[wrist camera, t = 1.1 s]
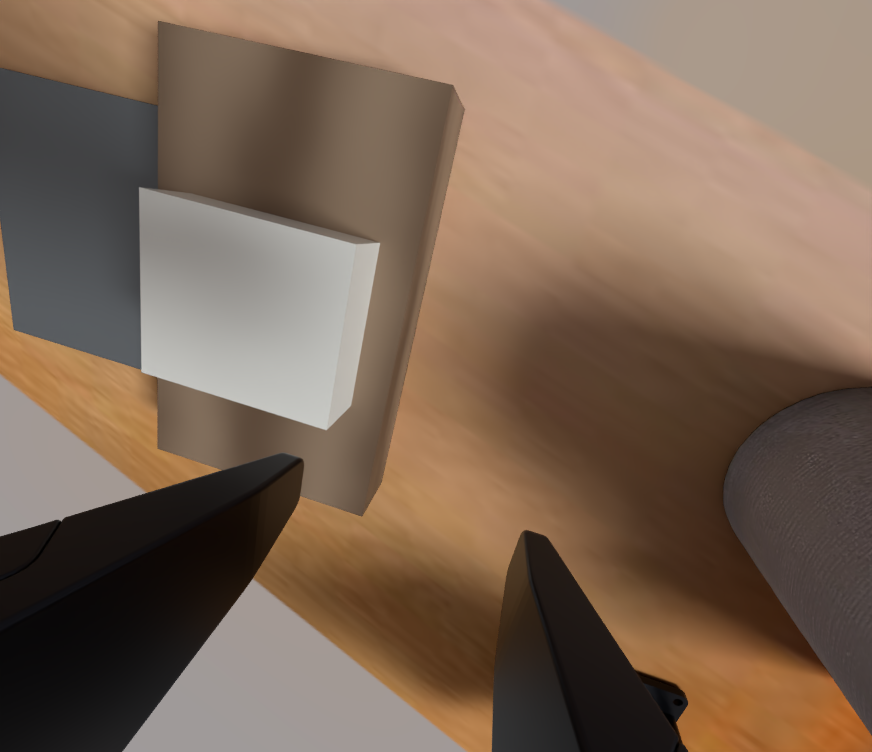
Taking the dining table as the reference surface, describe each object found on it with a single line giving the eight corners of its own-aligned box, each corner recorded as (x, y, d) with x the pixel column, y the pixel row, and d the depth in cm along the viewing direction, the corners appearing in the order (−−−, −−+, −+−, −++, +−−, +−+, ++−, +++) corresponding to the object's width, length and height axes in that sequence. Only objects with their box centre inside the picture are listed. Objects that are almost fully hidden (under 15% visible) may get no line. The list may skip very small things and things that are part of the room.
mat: (201, 117, 19) (195, 114, 19) (192, 381, 24) (187, 384, 23) (-9, 66, 20) (-19, 63, 20) (21, 328, 25) (13, 329, 24)
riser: (464, 109, 17) (452, 85, 14) (381, 482, 23) (362, 516, 21) (214, 53, 18) (158, 20, 15) (199, 423, 24) (157, 448, 22)
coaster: (380, 242, 16) (356, 244, 14) (351, 405, 19) (326, 430, 16) (191, 193, 17) (138, 186, 15) (186, 355, 20) (141, 372, 17)
